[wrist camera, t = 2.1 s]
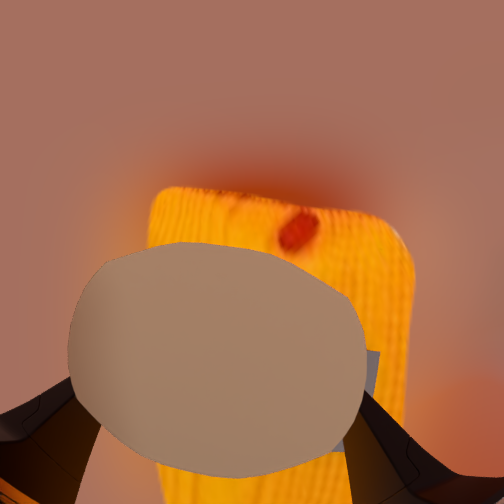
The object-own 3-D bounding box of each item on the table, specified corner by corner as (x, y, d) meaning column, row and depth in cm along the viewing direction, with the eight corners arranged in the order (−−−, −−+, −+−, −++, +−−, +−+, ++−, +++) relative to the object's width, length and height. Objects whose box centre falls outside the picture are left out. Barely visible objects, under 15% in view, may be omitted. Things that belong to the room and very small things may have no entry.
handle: (199, 326, 20) (99, 229, 6) (285, 338, 19) (370, 265, 6) (189, 387, 18) (57, 419, 4) (276, 401, 17) (347, 482, 4)
